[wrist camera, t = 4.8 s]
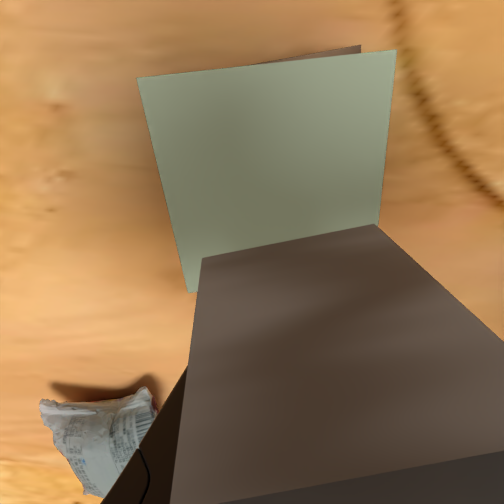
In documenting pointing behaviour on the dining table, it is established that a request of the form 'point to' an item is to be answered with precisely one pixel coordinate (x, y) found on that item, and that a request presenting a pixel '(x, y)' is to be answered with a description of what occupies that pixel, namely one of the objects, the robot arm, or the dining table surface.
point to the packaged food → (99, 435)
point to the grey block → (337, 381)
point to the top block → (269, 150)
